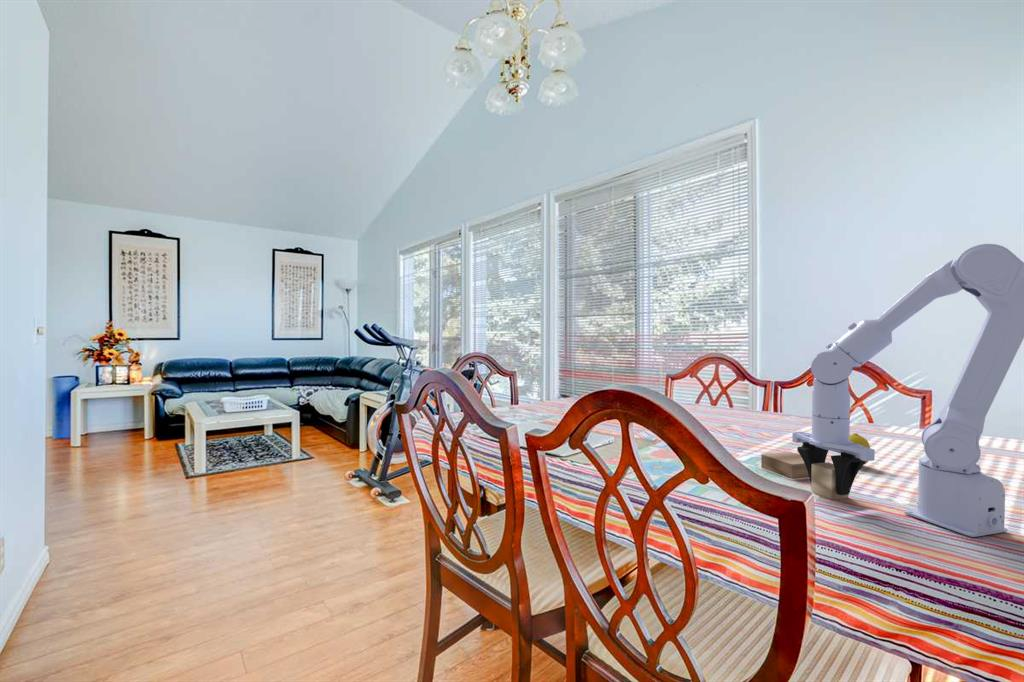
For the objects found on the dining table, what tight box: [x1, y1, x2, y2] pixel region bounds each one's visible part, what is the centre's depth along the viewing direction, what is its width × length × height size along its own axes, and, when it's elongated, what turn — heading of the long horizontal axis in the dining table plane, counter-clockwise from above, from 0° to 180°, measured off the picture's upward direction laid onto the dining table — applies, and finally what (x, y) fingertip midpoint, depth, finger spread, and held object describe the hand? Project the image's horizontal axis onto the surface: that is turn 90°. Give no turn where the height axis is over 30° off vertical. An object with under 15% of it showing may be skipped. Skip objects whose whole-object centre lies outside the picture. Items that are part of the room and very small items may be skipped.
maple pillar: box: [810, 461, 849, 501], centre depth 83 cm, size 4×4×6 cm
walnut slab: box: [760, 451, 809, 479], centre depth 97 cm, size 8×8×3 cm
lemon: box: [849, 432, 871, 466], centre depth 102 cm, size 6×6×8 cm
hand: (829, 489), depth 83 cm, fingers open, 5 cm apart
